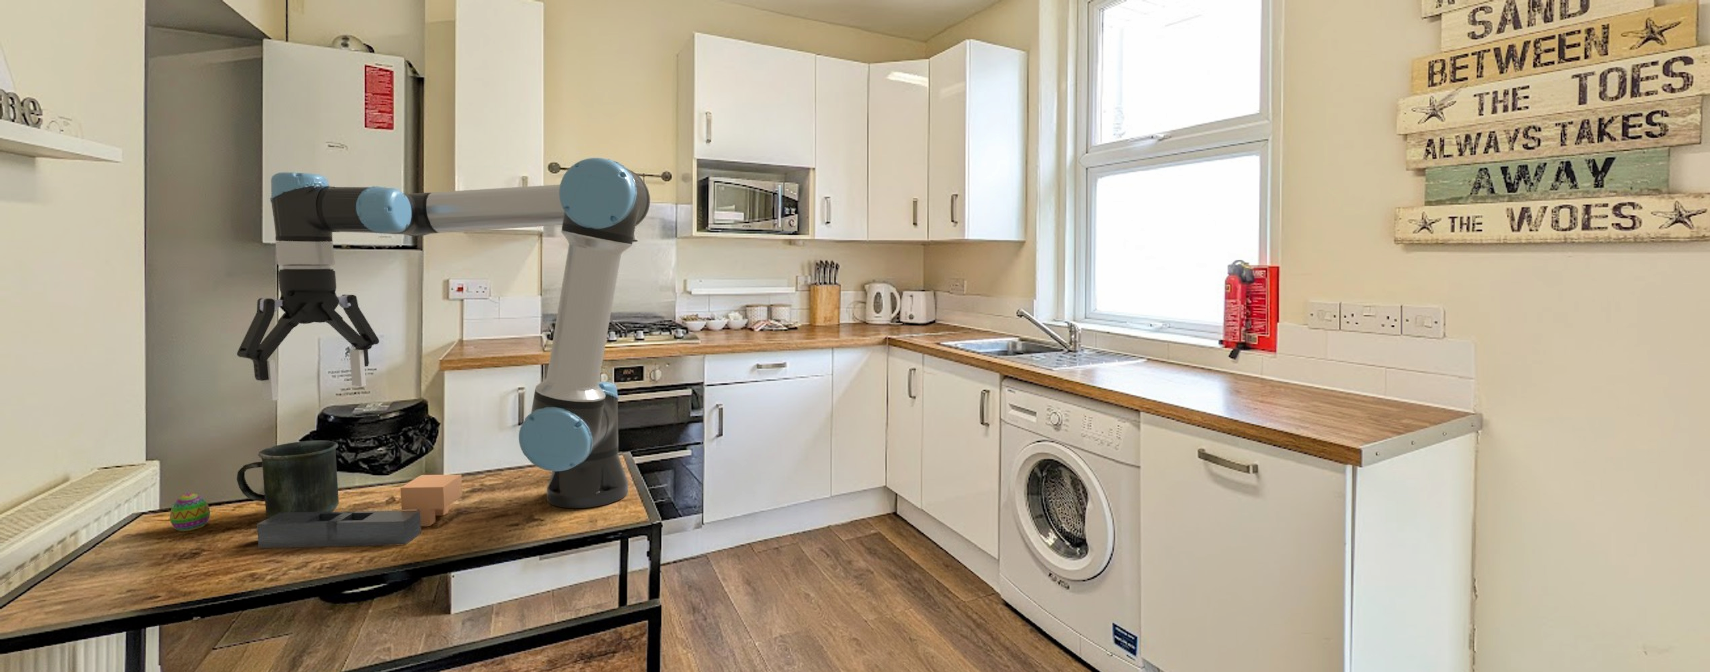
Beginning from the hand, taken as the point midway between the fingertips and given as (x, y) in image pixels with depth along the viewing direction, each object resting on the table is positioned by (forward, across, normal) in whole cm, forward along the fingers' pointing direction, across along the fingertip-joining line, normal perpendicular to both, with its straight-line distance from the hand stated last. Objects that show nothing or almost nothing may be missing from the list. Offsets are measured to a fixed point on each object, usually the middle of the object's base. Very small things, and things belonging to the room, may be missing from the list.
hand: (317, 392), depth 117 cm
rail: (+24, +3, +9) cm, 26 cm away
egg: (+23, +11, -18) cm, 32 cm away
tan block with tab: (+24, -10, +14) cm, 29 cm away
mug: (+24, 0, -11) cm, 26 cm away
